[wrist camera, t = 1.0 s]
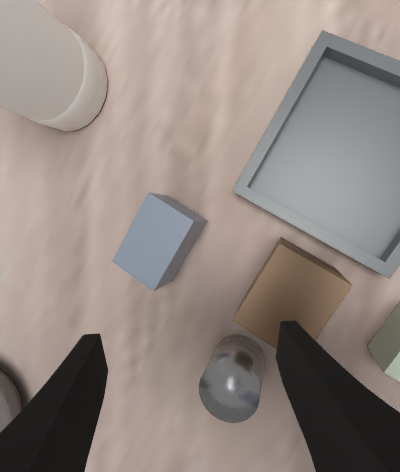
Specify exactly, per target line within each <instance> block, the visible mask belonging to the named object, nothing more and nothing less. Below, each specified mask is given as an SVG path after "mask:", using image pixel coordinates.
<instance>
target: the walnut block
mask: <svg viewBox="0 0 400 472" xmlns="http://www.w3.org/2000/svg"><path fill="white" fill-rule="evenodd" d="M352 286H353V285H352V284H351V283H350V282H349V281H348V280H347V279H346V278H345V277H344V276H343V275H342V274H341V273H340V272H339V271H338V270H337V269H336V268H334V267H332V266H331V265H329V264H327V263H325V262H324V261H322V260H320V259H318V258H317V257H315V256H313V255H311V254H310V253H308V252H306V251H304V250H303V249H301V248H299V247H297V246H296V245H294V244H292V243H290V242H289V241H287V240H285V239H283V238H282V237H281V238H280V240H279V241H278V243H277V244H276V246H275V248H274V249H273V251H272V253H271V254H270V256H269V258H268V259H267V261H266V262H265V264H264V266H263V267H262V269H261V271H260V272H259V274H258V275H257V277H256V279H255V280H254V282H253V284H252V285H251V287H250V288H249V290H248V292H247V293H246V295H245V297H244V299H243V301H242V302H241V304H240V306H239V308H238V310H237V312H236V314H235V316H234V318H233V321H235V322H236V323H238V324H239V325H241V326H242V327H244V328H245V329H247V330H248V331H250V332H251V333H253V334H254V335H256V336H257V337H259V338H260V339H262V340H263V341H265V342H266V343H268V344H269V345H271V346H272V347H274V348H275V349H277V345H278V337H279V330H280V322H281V321H294V320H295V321H297V322H298V323H299V324H300V325H301V326H302V328H303V329H304V330H305V331H306V332H307V333H308V334H309V335H310V336H311V337H312V338H313V339H314V340H315V339H316V338H317V337H318V335H319V334H320V332H321V331H322V329H323V328H324V326H325V325H326V323H327V322H328V321H329V319H330V318H331V316H332V315H333V313H334V312H335V310H336V309H337V308H338V306H339V305H340V303H341V302H342V300H343V299H344V297H345V296H346V294H347V293H348V292H349V290H350V289H351V287H352Z"/></svg>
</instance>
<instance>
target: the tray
mask: <svg viewBox="0 0 400 472" xmlns="http://www.w3.org/2000/svg"><path fill="white" fill-rule="evenodd" d="M232 191H233V192H234V193H236V194H238V195H240V196H242V197H243V198H245V199H247V200H249V201H251V202H252V203H254V204H256V205H258V206H260V207H261V208H263V209H265V210H267V211H269V212H270V213H272V214H274V215H276V216H278V217H279V218H281V219H283V220H285V221H286V222H288V223H290V224H292V225H294V226H295V227H297V228H299V229H301V230H303V231H304V232H306V233H308V234H310V235H312V236H313V237H315V238H317V239H319V240H321V241H322V242H324V243H326V244H328V245H330V246H331V247H333V248H335V249H337V250H339V251H340V252H342V253H344V254H346V255H347V256H349V257H351V258H353V259H355V260H356V261H358V262H360V263H362V264H364V265H365V266H367V267H369V268H371V269H373V270H374V271H376V272H378V273H380V274H382V275H383V276H385V277H387V278H389V279H390V278H391V277H392V275H393V274H394V272H395V271H396V270H397V268H398V267H399V265H400V61H399V60H396V59H394V58H391V57H389V56H386V55H384V54H381V53H379V52H376V51H374V50H371V49H369V48H366V47H364V46H361V45H359V44H356V43H353V42H351V41H348V40H346V39H343V38H341V37H338V36H336V35H333V34H331V33H328V32H326V31H323V30H322V31H321V33H320V35H319V37H318V38H317V40H316V42H315V44H314V46H313V47H312V49H311V51H310V53H309V55H308V56H307V58H306V60H305V62H304V63H303V65H302V67H301V69H300V71H299V72H298V74H297V76H296V78H295V80H294V81H293V83H292V85H291V87H290V88H289V90H288V92H287V94H286V96H285V97H284V99H283V101H282V103H281V105H280V106H279V108H278V110H277V112H276V113H275V115H274V117H273V119H272V121H271V122H270V124H269V126H268V128H267V130H266V131H265V133H264V135H263V137H262V138H261V140H260V142H259V144H258V146H257V147H256V149H255V151H254V153H253V155H252V156H251V158H250V160H249V162H248V163H247V165H246V167H245V169H244V171H243V172H242V174H241V176H240V178H239V180H238V181H237V183H236V185H235V187H234V188H233V190H232Z"/></svg>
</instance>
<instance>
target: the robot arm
mask: <svg viewBox="0 0 400 472" xmlns="http://www.w3.org/2000/svg"><path fill="white" fill-rule="evenodd" d="M276 360H277V364H278V368H279V372H280V375H281V379H282V382H283V385H284V387H285V390H286V393H287V395H288V398H289V400H290V403H291V405H292V408H293V410H294V413H295V415H296V418H297V420H298V423H299V425H300V428H301V430H302V433H303V435H304V437H305V440H306V443H307V445H308V448H309V451H310V454H311V457H312V460H313V463H314V467H315V470H316V472H400V413H399V412H398V411H396V410H395V409H394V408H392V407H391V406H389V405H388V404H387V403H385V402H384V401H383V400H382V399H380V398H379V397H378V396H376V395H375V394H374V393H372V392H371V391H370V390H369V389H367V388H366V387H365V386H364V385H362V384H361V383H360V382H359V381H358V380H357V379H355V378H354V377H353V376H352V375H351V374H350V373H349V372H347V371H346V370H345V369H344V368H343V367H342V366H341V365H340V364H339V363H338V362H337V361H336V360H334V359H333V358H332V357H331V356H330V355H329V354H328V353H327V352H326V351H325V350H324V349H323V348H322V347H321V346H320V345H319V344H318V343H317V342H316V341H315V340H314V339H313V338H312V337H311V336H310V335H309V334H308V333H307V332H306V331H305V330H304V329H303V328H302V326H301V325H300V324H299V323H298V322H297V321H295V320H294V321H281V322H280V330H279V337H278V345H277V353H276ZM107 374H108V367H107V363H106V359H105V354H104V350H103V345H102V341H101V336H100V334H86V335H83V336H82V337H81V339H80V340H79V341H78V343H77V344H76V345H75V347H74V348H73V349H72V351H71V352H70V353H69V355H68V356H67V357H66V359H65V360H64V361H63V362H62V364H61V365H60V366H59V367H58V369H57V370H56V371H55V372H54V374H53V375H52V376H51V377H50V379H49V380H48V381H47V382H46V384H45V385H44V386H43V387H42V388H41V389H40V390H39V392H38V393H37V394H36V395H35V396H34V397H33V398H32V400H31V401H30V402H29V403H28V404H27V405H26V406H25V407H24V409H23V410H22V411H21V412H20V413H19V414H18V415H17V416H16V417H15V418H14V419H13V420H12V421H11V422H10V423H9V424H8V425H7V426H6V427H5V428H4V429H3V430H2V431H1V432H0V472H84V471H85V467H86V462H87V458H88V455H89V451H90V447H91V444H92V440H93V436H94V433H95V429H96V425H97V422H98V418H99V414H100V410H101V407H102V403H103V399H104V394H105V388H106V381H107Z"/></svg>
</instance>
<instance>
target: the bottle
mask: <svg viewBox="0 0 400 472" xmlns="http://www.w3.org/2000/svg"><path fill="white" fill-rule="evenodd" d="M107 83H108V81H107V76H106V70H105V66H104V64H103V62H102V61H101V59H100V57H99V55H98V54H97V53H96V52H95V51H94V50H93V49H92V48H90V46H89V45H88V43H86V42H85V41H84V40H83V39H82V38H81V37H80V36H79V35H77V34H76V33H75V32H73V31H72V30H71V29H70V28H68V27H67V26H66V25H64V24H63V23H62V22H61V21H60V20H58V19H57V18H56V17H55V16H54V15H53V14H52V13H50V12H49V11H48V10H47V9H46V8H45V7H43V6H42V5H41V4H40V3H39V2H38V1H37V0H0V107H1V108H4V109H7V110H9V111H12V112H14V113H17V114H19V115H22V116H25V117H26V118H27V119H29V120H32V121H34V122H37V123H40V124H43V125H46V126H49V127H52V128H56V129H59V130H62V131H65V132H66V131H74V130H79V129H81V128H82V127H84V126H86V125H88V124H90V123H91V121H92V120H93V119H94V118H95V117H96V116H97V114H98V113H99V112H100V110H101V108H102V105H103V103H104V101H105V98H106V91H107Z"/></svg>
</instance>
